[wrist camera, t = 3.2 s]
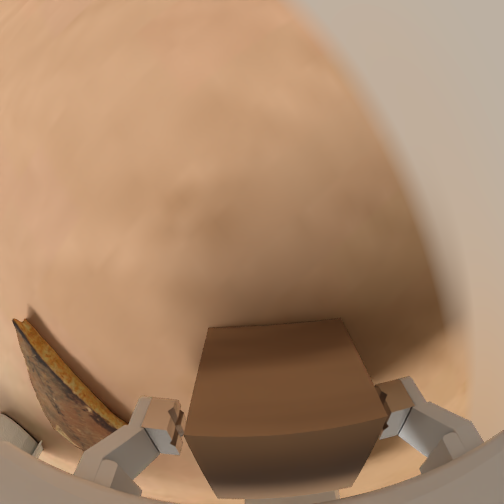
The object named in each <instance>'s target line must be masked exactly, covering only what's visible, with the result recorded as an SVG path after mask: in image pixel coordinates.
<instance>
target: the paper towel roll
mask: <svg viewBox="0 0 504 504" xmlns="http://www.w3.org/2000/svg"><path fill="white" fill-rule="evenodd" d="M2 441H7V442H9V443H11V444H13V445H15V446H16V447H18V448H19V449H21V450H23V451H25V452H26V453H28V454H30V455H32V456H34V457H36V458H38V457H39V456H40V454H41V452H42V450H43V448H42V445H41V443H42V440H41V441H40V442H39V444H37V442H36V441H35V440H34V439H33V438H32V437H31V436H30V435H29V434H28V433H27V432H26V431H25V430H24V429H22V428H21V427H20V426H19V425H18V424H17V423H15V422H14V421H13V420H12V419H10V418H9V417H7V416H6V415H3V414H0V442H2Z"/></svg>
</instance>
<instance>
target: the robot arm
mask: <svg viewBox="0 0 504 504" xmlns="http://www.w3.org/2000/svg"><path fill="white" fill-rule="evenodd" d="M374 387H375V389H376V391H377V393H378V396H379V398H380V400H381V402H382V404H383V407H384V409H385V411H386V413H387V419H386V421H385V423H384V426H383V428H382V430H381V432H380V434H379V436H378V438H379V440H380V439H384V438H388V437H392V436H395V435H398V436H399V437H401V438H402V439H403V440H405V441H406V442H407V443H409V444H410V445H411V446H413V447H414V448H415V449H417V450H418V451H419V452H421V453H422V454H423V455H425V456H426V457H428V458H427V459H426V460H425V462H424V463H423V464H422V465H421V467H420V471H421V475H418V476H416V477H413V478H410V479H408V480H405V481H402V482H400V483H397V484H394V485H391V486H388V487H384V488H381V489H378V490H374V491H371V492H367V493H363V494H359V495H355V496H351V497H346V498H342V499H337V500H332V501H326V502H320V503H313V504H504V430H502V431H501V432H499V433H498V434H496V435H495V436H493V437H492V438H490V439H489V440H487V441H486V442H484V441H483V440H482V438H481V436H480V435H479V433H478V431H477V430H476V428H475V427H474V425H473V423H472V422H471V421H469V420H467V419H465V418H463V417H460V416H458V415H456V414H454V413H452V412H450V411H448V410H446V409H444V408H442V407H440V406H438V405H436V404H434V403H432V402H430V401H429V402H426V400H425V399H424V397H423V395H422V394H421V392H420V391H419V389H418V387H417V386H416V384H415V383H414V381H413V379H412V378H411V377H410V376H408V377H404V378H400V379H396V380H392V381H388V382H384V383H380V384H376V385H375V386H374ZM180 408H181V404H180V402H179V400H175V399H165V398H156V397H147V396H141V397H140V398H139V400H138V402H137V405H136V407H135V409H134V412H133V414H132V417H131V419H130V421H129V424H128V425H124V426H122V427H121V428H119V429H118V430H116V431H115V432H113V433H112V434H110V435H109V436H107V437H106V438H104V439H103V440H101V441H100V442H98V443H97V444H95V445H94V446H92V447H90V448H89V449H87V450H86V451H84V453H83V455H82V457H81V459H80V461H79V463H78V466H77V468H76V470H75V472H74V474H73V475H72V474H70V473H67V472H65V471H63V470H61V469H58V468H56V467H54V466H52V465H50V464H48V463H46V462H44V461H42V460H40V459H38V458H36V457H34V456H32V455H30V454H28V453H26V452H25V451H23V450H21V449H19V448H18V447H16V446H15V445H13V444H11V443H9V442H7V441H2V442H0V504H179V503H172V502H166V501H161V500H156V499H151V498H146V497H142V496H141V493H142V490H141V488H140V487H139V486H138V485H137V484H136V483H135V482H134V481H133V479H134V478H135V477H136V476H138V475H139V474H140V473H141V472H142V471H143V470H144V469H145V468H146V467H147V466H148V465H149V464H150V463H151V462H152V461H153V460H154V459H155V458H156V457H157V456H158V455H159V454H160V453H164V454H173V455H180V453H181V449H182V444H183V441H182V439H181V436H183V435H184V430H185V426H186V418H185V414H184V412H182V411H181V410H180Z"/></svg>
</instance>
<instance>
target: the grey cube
mask: <svg viewBox="0 0 504 504" xmlns="http://www.w3.org/2000/svg"><path fill="white" fill-rule="evenodd" d="M337 499H340V495H339V490H334V491H329V492H323V493H317V494H310V495H302V496H293V497H283V498H267V499H245V504H313V503H320V502H326V501H332V500H337Z"/></svg>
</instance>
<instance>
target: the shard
mask: <svg viewBox="0 0 504 504" xmlns="http://www.w3.org/2000/svg"><path fill="white" fill-rule="evenodd" d="M12 321H13V324H14V326H15V329H16V332H17V337H18V341H19V345H20V348H21V351H22V353H23V355H24V358H25V362H26V365H27V369H28V373H29V376H30V380H31V383H32V386H33V388H34V390H35V392H36V396H37V399H38V400H39V402H40V405H41V406H42V409H43V411H44V413H45V415H46V417H47V418H48V420H49V421H50V423H51V425H52V427H53V429H54V430H57V431H58V432H59V433H60V434H61V435H62V436H64V437H65V438H66V439H67V440H68V441H69V442H71V443H72V444H73V445H74V446H76V447H78V448H80V449H82V450H83V451H86V450H87V449H89V448H90V447H92V446H94V445H95V444H97V443H98V442H100V441H101V440H103V439H104V438H106V437H107V436H109V435H110V434H112V433H113V432H115V431H116V430H118V429H119V428H121V427H122V426H124V425H128V423H126V422H125V421H123V420H121V419H120V418H118V417H117V416H115V415H114V414H113V413H112V412H111V411H110V410H109V409H108V408H107V407H106V406H105V405H104V404H103V403H102V402H101V401H100V400H99V399H98V398H97V397H96V396H95V395H94V394H93V393H92V392H91V391H90V390H89V388H88V387H87V386H86V385H85V384H83V383H82V381H81V380H80V379H79V378H78V377H77V376H76V375H75V374H74V373H73V372H72V370H71V369H70V368H69V367H68V366H67V365H66V364H65V363H64V362H63V361H62V359H61V358H60V357H59V356H58V354H57V353H56V352H55V351H54V350H53V349H52V347H51V346H50V345H49V344H48V343H47V342H46V341H45V340H44V339H43V338H42V337H41V336H40V334H39V333H38V332H37V330H36V329H35V328H34V327H33V326H32V325H31V324H30V323H29V322H28V321H27V320H26V319H24V321H23V322H20V321H18V320H17V319H13V320H12Z"/></svg>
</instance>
